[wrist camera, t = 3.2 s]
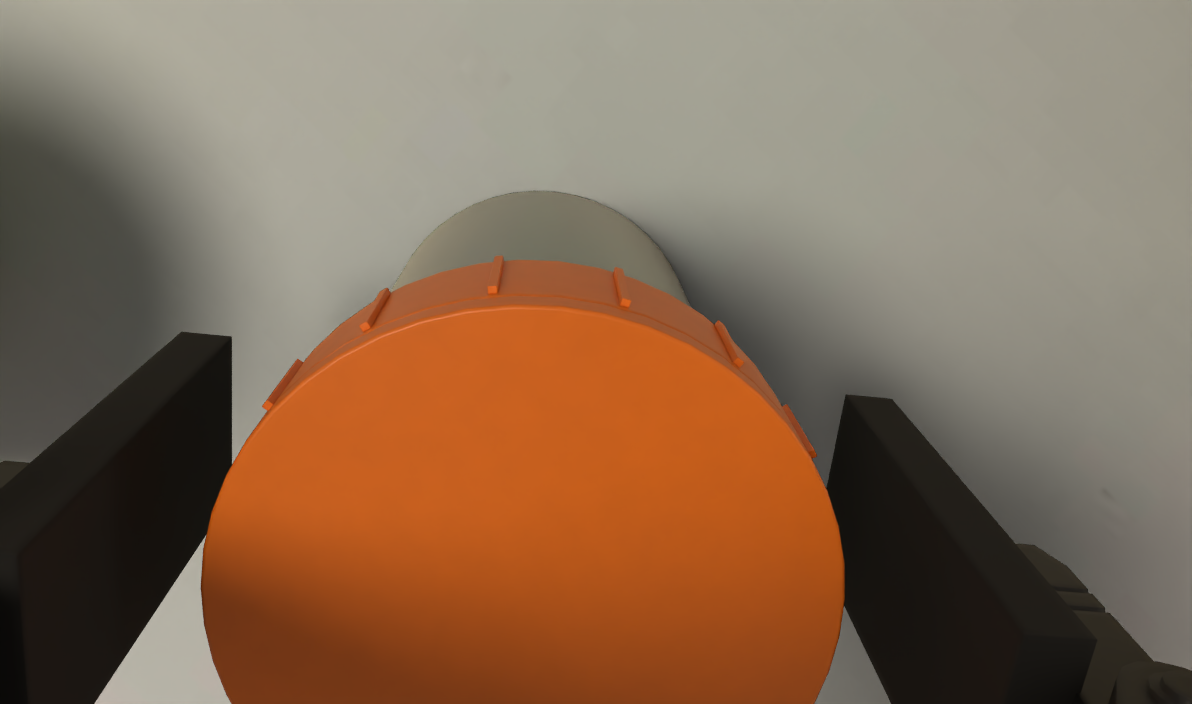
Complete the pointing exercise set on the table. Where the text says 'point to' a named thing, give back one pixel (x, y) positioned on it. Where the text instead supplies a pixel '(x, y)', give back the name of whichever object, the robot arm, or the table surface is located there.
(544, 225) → the jar
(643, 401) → the lid
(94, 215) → the table surface
